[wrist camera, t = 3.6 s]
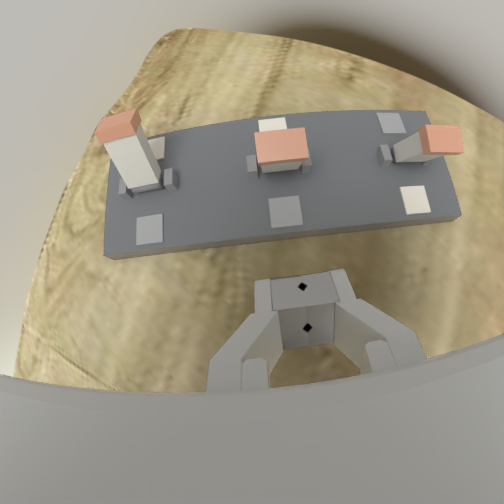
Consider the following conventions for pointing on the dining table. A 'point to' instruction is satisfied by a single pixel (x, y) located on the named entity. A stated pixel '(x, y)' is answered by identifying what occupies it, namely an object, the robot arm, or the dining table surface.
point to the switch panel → (278, 185)
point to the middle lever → (281, 149)
